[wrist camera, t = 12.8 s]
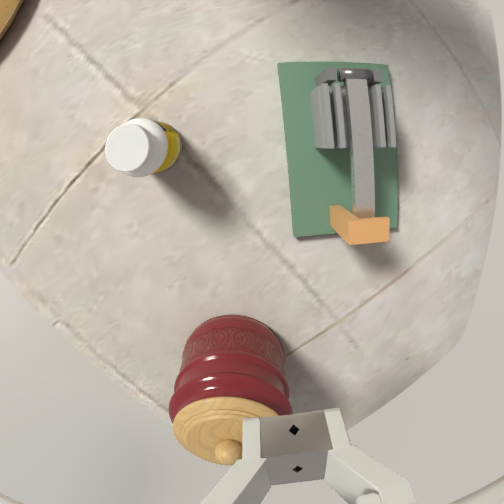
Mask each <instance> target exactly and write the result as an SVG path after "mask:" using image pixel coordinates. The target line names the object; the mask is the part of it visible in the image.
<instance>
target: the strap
mask: <svg viewBox="0 0 504 504" xmlns="http://www.w3.org/2000/svg"><path fill="white" fill-rule="evenodd" d="M337 79H338V81H339V82H344V91H345V100H346V110H347V121H348V133H349V146H350V162H351V183H352V214H353V215H355V216H356V217H358V218H359V219H362V218H374V217H375V185H374V158H373V141H372V127H371V115H370V104H369V95H368V86H367V83H370V82H371V80H372V73H371V70H370V69H364V68H338V69H337Z"/></svg>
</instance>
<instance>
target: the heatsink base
mask: <svg viewBox="0 0 504 504" xmlns="http://www.w3.org/2000/svg"><path fill="white" fill-rule="evenodd" d="M277 66H278V74H279V83H280V92H281V101H282V110H283V120H284V130H285V140H286V151H287V162H288V173H289V186H290V198H291V212H292V226H293V236H294V237H302V236H313V235H323V234H334V233H337V232H336V231H335V230H334V229H333V228H332V227H331V226H330V212H329V206H331V205H341V206H342V207H344V208H345V209H346V210H348V211H349V212H351V213H352V183H351V162H350V146H349V133H348V121H347V110H346V100H345V91H344V82H339V81H338V79H337V69H338V68H364V69H370V70H371V73H372V80H371V82H370V83H367V86H368V95H369V104H370V115H371V127H372V141H373V158H374V185H375V217H389V218H390V225H389V228H397V221H398V179H397V151H396V135H395V122H394V110H393V101H392V92H391V83H390V76H389V69H388V65H382V64H369V63H351V62H286V63H278V65H277Z"/></svg>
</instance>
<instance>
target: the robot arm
mask: <svg viewBox="0 0 504 504" xmlns="http://www.w3.org/2000/svg"><path fill="white" fill-rule="evenodd" d="M320 479H324V480H325V481H326V482H327V483H328V484H329V485H330V486H331V487H332V488H333V489H334V490H335V491H336V492H337V493H338V494H339V495H340V496H341V497H342V498H343V499H344V500H345V501H346V502H347V503H348V504H417V502H416V499H415V497H414V494H413V491H412V489H411V486H410V483H409V481H407V480H406V479H404V478H402V477H401V476H399V475H398V474H396V473H395V472H394V471H392V470H390V469H389V468H387V467H386V466H384V465H383V464H382V463H380V462H379V461H377V460H376V459H375V458H373V457H372V456H370V455H369V454H367V453H366V452H365V451H363V450H362V449H361V448H359V447H358V446H356V445H353V446H351V443H350V440H349V437H348V433H347V430H346V427H345V423H344V420H343V417H342V414H341V410H340V409H339V408H338V407H337V408H331V409H325V410H317V411H311V412H304V413H297V414H291V415H283V416H269V417H255V418H244V419H243V447H242V459H239V460H237V461H236V462H235V463H234V465H233V466H232V467H231V468H230V469H229V471H228V472H227V473H226V474H225V476H224V477H223V478H222V479H221V480H220V481H219V482H218V484H217V485H216V486H215V487H214V488H213V489H212V490H211V492H210V493H209V494H208V495H207V496H206V497H205V498H204V499H203V501H202V502H201V503H200V504H260V503H261V502H262V500H263V499H264V497H265V496H266V494H267V492H268V491H269V489H270V488H271V485H278V484H287V483H294V482H303V481H312V480H320ZM0 504H22V503H20V502H18V501H16V500H13V499H11V498H9V497H7V496H5V495H3V494H1V493H0ZM450 504H504V476H503V477H501V478H499V479H497V480H496V481H494V482H492V483H490V484H489V485H487V486H485V487H483V488H481V489H479V490H477V491H475V492H473V493H471V494H469V495H467V496H465V497H463V498H461V499H459V500H456V501H454V502H452V503H450Z"/></svg>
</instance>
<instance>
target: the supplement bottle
mask: <svg viewBox="0 0 504 504" xmlns="http://www.w3.org/2000/svg"><path fill="white" fill-rule="evenodd" d="M181 150H182V142H181V138H180V135H179V133H178V132H177V131H176V130H175V129H174V128H173V127H172V126H170V125H168V124H166V123H162V122H158V121H154V120H150V119H145V118H137V119H132V120H130V121H128V122H126V123H124V124H123V125H121V126H119V127H117V128H115V129H114V130H113V131H112V132H111V133H110V135H109V137H108V139H107V141H106V146H105V153H106V157H107V160H108V162H109V163H110V165H111V166H112V167H113V168H115V169H116V170H118V171H121V172H123V173H124V174H126V175H129V176H132V177H143V176H147V175H151V174H154V173H157V172H161V171H164V170H166V169H168V168H170V167H172V166H173V165H174V164H175V163H176V162H177V160H178V159H179V157H180V154H181Z"/></svg>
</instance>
